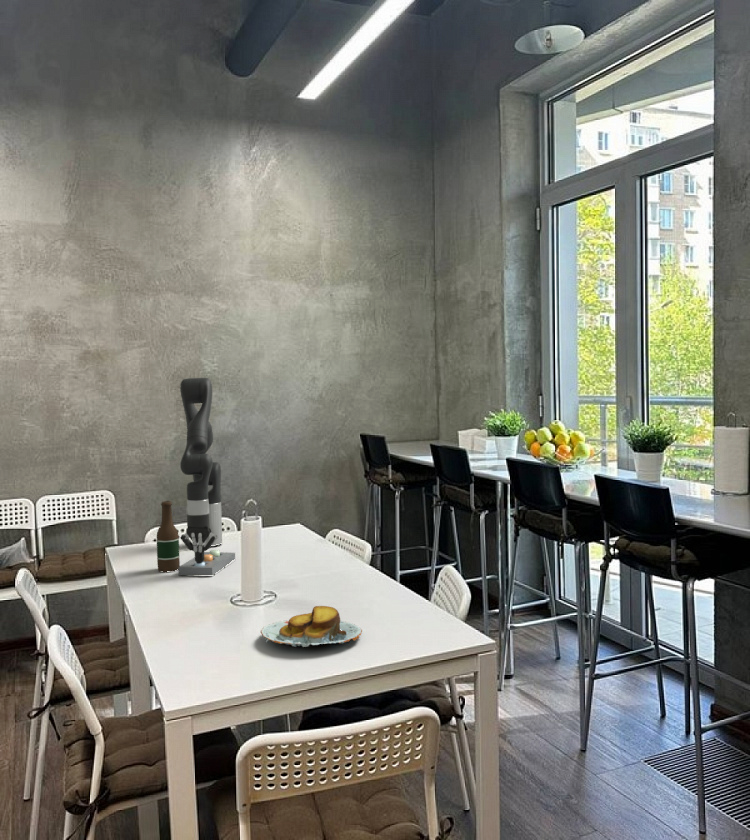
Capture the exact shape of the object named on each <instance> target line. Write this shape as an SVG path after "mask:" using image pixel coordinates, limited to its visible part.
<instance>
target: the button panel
mask: <svg viewBox="0 0 750 840" xmlns="http://www.w3.org/2000/svg"><path fill="white" fill-rule="evenodd" d="M206 554H210V551H204V555H206ZM234 559H235V560H236V552H224V551H223V552H221V551H220V556H219V557H213V560H212V561H203V562H205V566H194V563H195V562H196V561H195V556H194V557H193V558H191V559H189V560H188V561H186V562H183V564H181V565H180V566H179V567H178V570H177V571H178V576H179V575H214V574H215V573H216V572H218V571H219V570H221V569H222V568H223V567H225V566H226V565H227V564H229V563H230V562H231V561H232V560H234ZM221 571H222V570H221ZM218 573H219V572H218ZM214 576H215V575H214Z"/></svg>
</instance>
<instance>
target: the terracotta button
mask: <svg viewBox="0 0 750 840" xmlns="http://www.w3.org/2000/svg"><path fill="white" fill-rule="evenodd" d="M212 560H213V555H211V554H206V555H204V561H212Z"/></svg>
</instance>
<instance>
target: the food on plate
mask: <svg viewBox="0 0 750 840" xmlns="http://www.w3.org/2000/svg"><path fill="white" fill-rule="evenodd" d="M340 629H341V630H342V631H341V630H340ZM362 632H363V629H362V628H361V627H360V626H359V625H356V624H355V623H351V622H347V621H344V620H341V616H340V613H339V611H338V609H336V608H335V607H332V606H327V605H314V607H312V610H311V612H309V613H302V614H301V613H300V614H296V615H294V616H291V617H290V619H288V620H279V621H275V622H272V623H270V624H268V625H265V626H263V627H262V628H261V629H260V634H261V635H262V636H263V637H264V638H266V639H265V640H266V641H265V643H267V642H268V641H272V642H273V643H275V644H279V645H281V644H285V645H288V646H289V645H291V647H295V648H296V647H297V646H298V647H300V646H301V647H302V648H304V647H305V648H306V647H310V645H312V646H318V645H320V644H321V645H323V644H324V645H325V644H327V645H330V644H333V645H334V644H338V643H339V644H344V643H347V642H350V641H351V640H352V641H356V640H359V639H360V636H361V634H362Z"/></svg>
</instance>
